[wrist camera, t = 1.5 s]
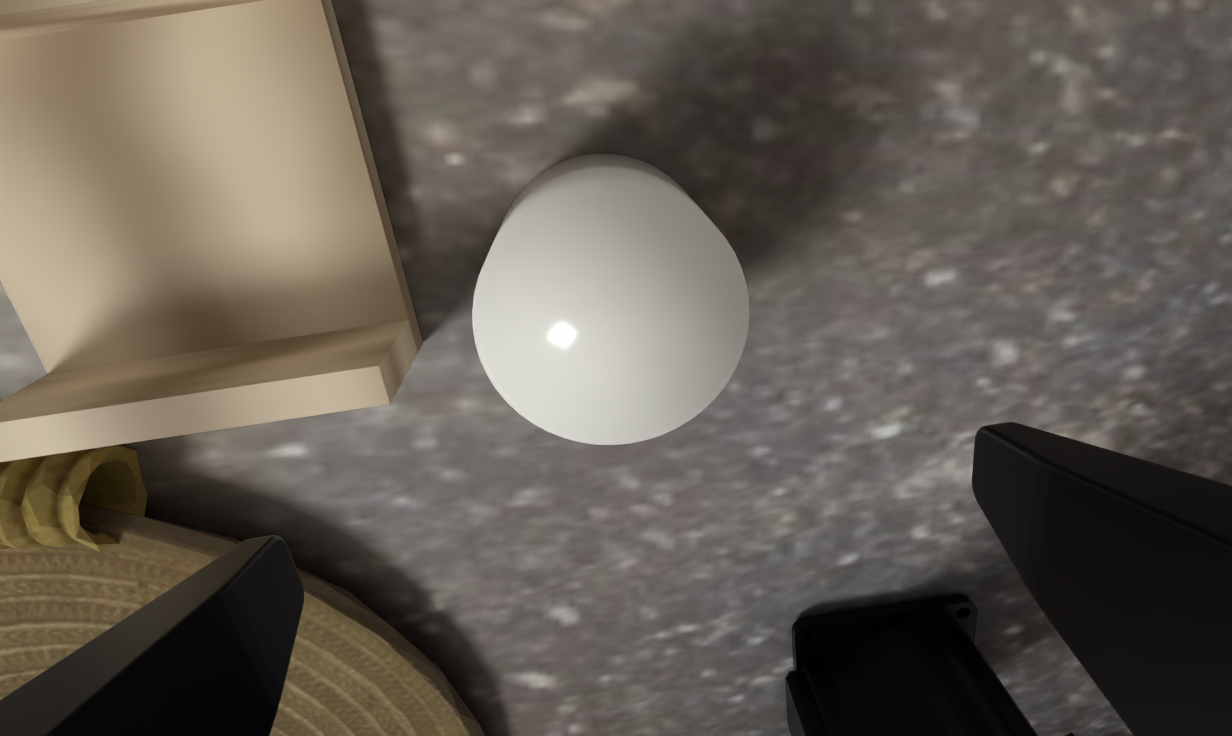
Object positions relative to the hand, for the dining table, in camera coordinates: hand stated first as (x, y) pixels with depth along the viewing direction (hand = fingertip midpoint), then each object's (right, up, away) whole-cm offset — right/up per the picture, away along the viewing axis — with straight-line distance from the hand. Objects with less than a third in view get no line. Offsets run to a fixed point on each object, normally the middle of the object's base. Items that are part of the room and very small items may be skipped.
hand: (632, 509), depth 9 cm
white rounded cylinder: (-1, +5, +11) cm, 12 cm away
